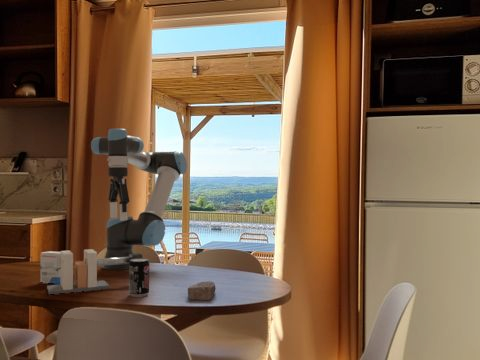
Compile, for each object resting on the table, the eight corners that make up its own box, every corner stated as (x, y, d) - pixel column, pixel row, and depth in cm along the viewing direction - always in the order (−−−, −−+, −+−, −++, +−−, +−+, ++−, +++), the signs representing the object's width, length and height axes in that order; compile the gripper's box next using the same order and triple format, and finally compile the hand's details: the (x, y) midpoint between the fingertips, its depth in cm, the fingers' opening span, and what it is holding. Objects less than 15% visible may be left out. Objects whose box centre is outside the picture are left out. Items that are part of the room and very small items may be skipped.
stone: (190, 292, 149) (191, 279, 149) (216, 292, 148) (216, 279, 148) (186, 301, 137) (186, 286, 137) (213, 301, 137) (213, 287, 137)
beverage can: (148, 292, 148) (149, 257, 148) (149, 297, 141) (149, 261, 142) (129, 293, 146) (129, 258, 147) (128, 298, 140) (128, 261, 140)
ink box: (66, 282, 164) (67, 251, 164) (57, 284, 159) (57, 253, 160) (49, 280, 167) (49, 250, 167) (39, 283, 162) (39, 252, 163)
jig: (104, 283, 162) (104, 248, 162) (109, 288, 153) (109, 251, 153) (46, 289, 152) (47, 251, 152) (49, 295, 143) (49, 255, 144)
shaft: (139, 263, 165) (139, 253, 165) (142, 265, 162) (142, 254, 162) (88, 267, 156) (88, 256, 156) (90, 269, 153) (90, 258, 153)
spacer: (83, 282, 157) (83, 261, 157) (86, 287, 150) (86, 264, 150) (74, 283, 156) (74, 261, 156) (77, 288, 149) (78, 265, 149)
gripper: (100, 167, 180) (101, 217, 180) (117, 166, 159) (118, 222, 160) (118, 167, 184) (118, 216, 185) (137, 166, 163) (137, 221, 164)
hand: (118, 219), depth 172 cm, fingers open, 13 cm apart
